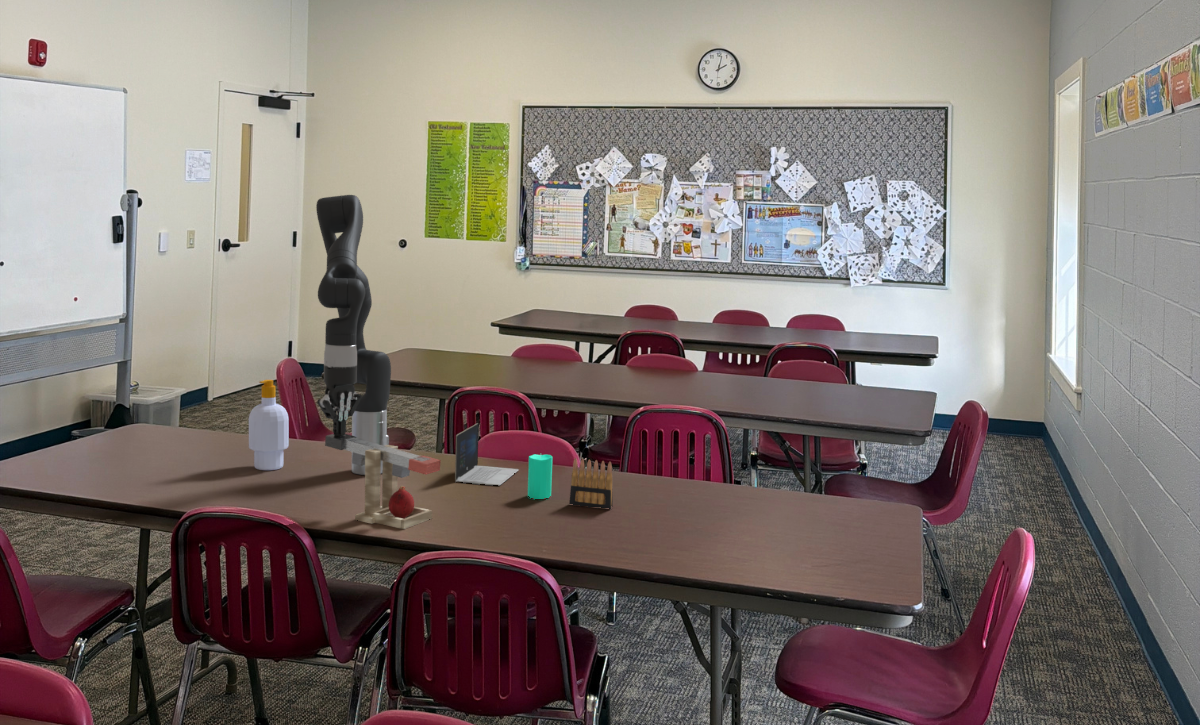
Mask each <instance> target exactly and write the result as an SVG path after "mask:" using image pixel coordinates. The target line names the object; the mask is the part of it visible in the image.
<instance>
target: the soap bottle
mask: <svg viewBox="0 0 1200 725" xmlns="http://www.w3.org/2000/svg"><path fill="white" fill-rule="evenodd" d="M258 383H259V384H263V385H261V403H259V404H256V406H254V407H253V408H252V410H250V413H249V416H248V449H250V451H253V456H254V457H253V466H254V468H255V469H257V470H258V471H259V470H260V471H274V470H275V471H276V470H279V469H280V470H281V469H282V468H283V467H284V450H286V449H288V448H289V447H290V446H289V439H290V438H289V434H290V433H289V421H290V420H289V414H288V412H287V410H286V408H285V407H284V406H282V405H281V404H279V403H277V402H276V399H277V398H276V394H277V393H276V392H277V391H276V385H274V379H264V380H261V381H260V380H259V382H258Z"/></svg>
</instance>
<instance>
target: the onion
mask: <svg viewBox="0 0 1200 725" xmlns="http://www.w3.org/2000/svg"><path fill="white" fill-rule="evenodd" d="M414 507H415V500H414V497H413V495H412V494H411V493H410V492H409V491H407V490H406V487H405V486H404V485H401V486H400V487H399V488H398V489H397V491H396V492H395V493H394V494H393V495H392V496H391V498H390V500H389V510H390V512H391V513H392V514H393V517H398V518H403V519H405V518H407V517H409V516H410V514H411V513H412V511H413V509H414Z"/></svg>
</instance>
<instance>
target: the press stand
mask: <svg viewBox="0 0 1200 725" xmlns="http://www.w3.org/2000/svg"><path fill="white" fill-rule="evenodd" d="M385 446H386V447H390V448H394V449H397V450H399V446H398V445H391V444H389V445H385ZM392 467H393V464H392V463H389V462H385V461H383V468H382V473H381V474H382V476H381V474H380V471H381V451H378V450H372V449H370V450H366V451H365V475H364V511H363V512H360V513H357V514H355V515H354V520H355V521H357V520H358V521H357V522H363V523H366V524H367V523H368V524H370V525H371V524H379V525H384V526H389V527H393V528H396V529H402V530H406V529H409V528H412V527H414V526H416V525H419V524H422V523H425V522H427V521H430V520H432V519H433V510H431V509H428V508H427V509H426V508H423V507H417V506H414V509H413V511H412V513H411V514H410V515H409V516H407V517H406V518H405V519H403V518H398V517H395V516H393V514H392V513H391V512H390V510H389V500H390V498H391V496H392V495H393V494H394V493H395V492H396V491H398V477H397V476H393V475H392ZM381 478H382V482H381ZM381 483H382V484H381ZM381 486H382V487H381ZM381 492H382V493H381ZM381 495H382V496H381ZM429 519H430V520H429Z"/></svg>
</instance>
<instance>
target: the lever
mask: <svg viewBox="0 0 1200 725" xmlns="http://www.w3.org/2000/svg"><path fill="white" fill-rule="evenodd" d="M324 446H325V447H328V448H332V449H335V450H339V451H348V452H350V453H352V452H353V456H352V455H351V465H352V464H356V465H359V466H363V465H365V451H366V450H370V449H372V450H378V451H381V460H382V461H385V462H389V463H392V464H393V467H392V475H393V476H397V478H400V479H403V478H407V477H408V476H410V474H411V472H410V471H412V472H415V473H419V474H422V475H429V474H433V473H436V472H438V471H441V461H442V460H441V459H437V458H434V457H430V456H427V455H418V454H415V453H411V452H408V451H404V450H400V449H398V450H397V449H394V448H390V447H386V446H383V445H379V444H376V443H372V442H368V441H365V440H361V439H358V438H356V437H355V436H352V434H348V433H345V435H344V436H340V437H339V436H335V435H334V433H332V434H328V435H325V442H324Z"/></svg>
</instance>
